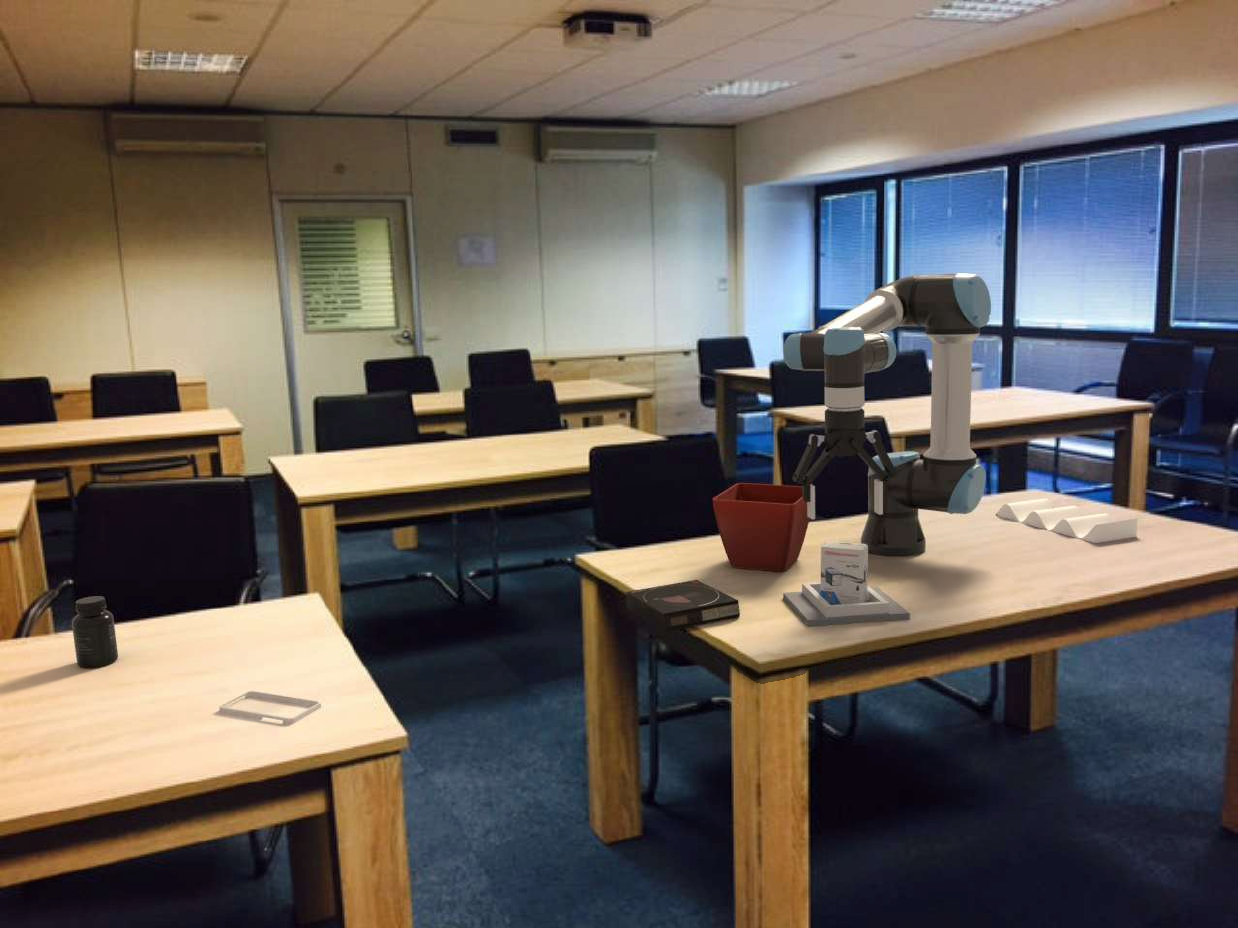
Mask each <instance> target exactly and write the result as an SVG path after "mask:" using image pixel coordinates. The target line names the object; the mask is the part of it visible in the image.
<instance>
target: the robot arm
mask: <svg viewBox="0 0 1238 928" xmlns="http://www.w3.org/2000/svg"><path fill="white" fill-rule="evenodd" d="M991 313H992V302H991V295H990V292H989V288H988V286H987V284H986V282H985V280H984V279H983V278H982V277H981V276H979V275H978V274H975V273H961V272H958V273H943V274H942V273H941V274H939V273H938V274H914V275H909V276H905V277H902V278H899V279H897V280H894V281H892V282H890V283H888V284H886V285H884V286H881V287H880V288H877V289H876V290H873V291H872V292H871V293H870V294H868V295H867V297H866V298H865V300H864V302H862V303H860V304H858V305H857V306H855V307H853V308H852V309H850V310H848V311H846V312H844V313H843V314H841V315H839V316H838V317H836V318H834V319H832V320H831V321H829V322H827V323H825V324H824V325H822V326H821V327H819V328H817V329H814V330H813V331H811V332H808V333H804V332H800V333H792V334H790V335H789V336H788V337H786V340H785V341H784V344H783V348H782V349H783V350H782V353H783V360H784V363H785V365H786V366H787V367H788V368H789V369H791V370H798V371H799V370H800V371H803V372H806V371H814V372H815V371H821V372H823V371H824V407H826V409H825V411H824V433H823V435H820V434H819V435H817V434H813V433H810V434H809V435H808V439H807V446H806V448H805V449H804V452H803V454H802V456H801V459H800V460H799V463H798V465H797V468H796V469H795V471H794V474H793V475H792V480H793V482H795V483H796V484H799V485H801V486H802V498H803V501H805V502H807V516H808V517H809V518H810V519H809V520H815V519H816V486H815V485H813V482H814V481H815V480H816V479H817V477H818V476H819V475H820V474H821V472H822V471H823V470H824V468H826V466H827V464H829V462H830V461H831V460H833V458H834V457H838V458H841V457H846V456H848V457H855V455H857V456H859V457H860V459H862V461H864V463H865V464H866V465H867V466H868V472H867V477H868V479H867V482H868V483H867V486H868V489H867V492H868V495H867V496H868V500H867V501H868V503H867V505H868V506H867V507H868V509H867V511H868V512H867V513H868V515H867V518H866V522H865V524H864V525H865V526H864V528H863V531H862V534H861V536H860V544H866V545H868V553H871V554H877V555H881V556H900V557H901V556H911V555H916V554H920V553H923V552H925V551H926V537H925V535H924V531H923V527H922V525H921V522H920V519H919V510H926V511H933V512H939V513H948V514H950V515H954V514H956V515H957V514H958V515H959V514H961V515H967V514H971V513H972V512H973V511H975V509H976V508H977V507H978V505H979V504H980V501H982V497H983V496H984V492H985V488H986V481H987V474H986V469H985V467H984V466H983V465H981V463H977V454H976V453H975V452H974V450H973V449H972V448H970V446H971V444H970V443H971V442H970V441H971V411H972V409H971V408H972V407H971V406H972V405H971V404H972V379H973V378H972V376H973V375H972V369H973V342H974V341H975V340H976V339H977V338H978V337H979V336H980V334H981V328H983V327H985V326H986V325H987V324H988V323H989V321H990V316H991V315H992V314H991ZM897 327H898V328H899V327H925V336H926V337H927V339H929V340H930V341H931V343H932V346H931V347H932V349H931V350H932V354H931V355H932V356H931V402H930V403H931V404H930V405H931V406H930V408H931V409H930V442H929V443H930V447H929V448H928V449H927V450H926V451H925V452H924V453H923V457H922V459H921V456H920V453H919V452H917V451H897V452H887V449H885V446H884V445H883V443H882V435H881V431H878V430H875V429H872V430H871V431H869V432H866V431H865V410H864V408H863V407H864V406H865V400H866V399H865V374H868V373H872V372H876V373H877V372H880V371H883V370H884V369H887V368H889V367H890V366H891V365H892V364H893V363H894V362H895V359H896V357H897V346H896V343H895V341H894V340H893V338H892V337H891V336H890V335H888V334H887V333H883V331H884V332H887V331H892V330H894V329H896V328H897ZM867 440H868V442H870V443H871V445H872V447H873V449H874V450H875V453H876V454H877V455H875V456H873V457H872V456H871V455H870V454H869V453H868V451H867V450H866V449H865V448H864V447H863V445H864V443H866V441H867ZM822 443H824V445H825V448H824V449H823V450H822V451H821V452H822V453H821V455H820V456H819V457H818V458H817V460H816V461H815V462H814V463H813V464H812V466H811V467H810V464H811V463H812V461H813V458H815V457H814V456H815V454H816V452H817V449H818V447H820V446H821V444H822ZM809 467H810V468H809ZM808 469H809V470H808Z"/></svg>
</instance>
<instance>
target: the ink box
mask: <svg viewBox="0 0 1238 928" xmlns="http://www.w3.org/2000/svg"><path fill="white" fill-rule="evenodd" d="M868 568H869V552H868V545H866V544H861V542H848V541H847V542H846V541H845V542H844V541H836V540H834V541H833V540H827V541H825V542H824V543H823V544H822V545H821V547H820V582H821V593H820V595H821V596H822V597H823V598H824V599H825V600H826V601H827V602H828V603H829V604H833V605H839V604H854V603H866V602H867V585H868V581H869V580H868V577H869V576H868V574H869V573H868V572H869V569H868Z"/></svg>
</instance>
